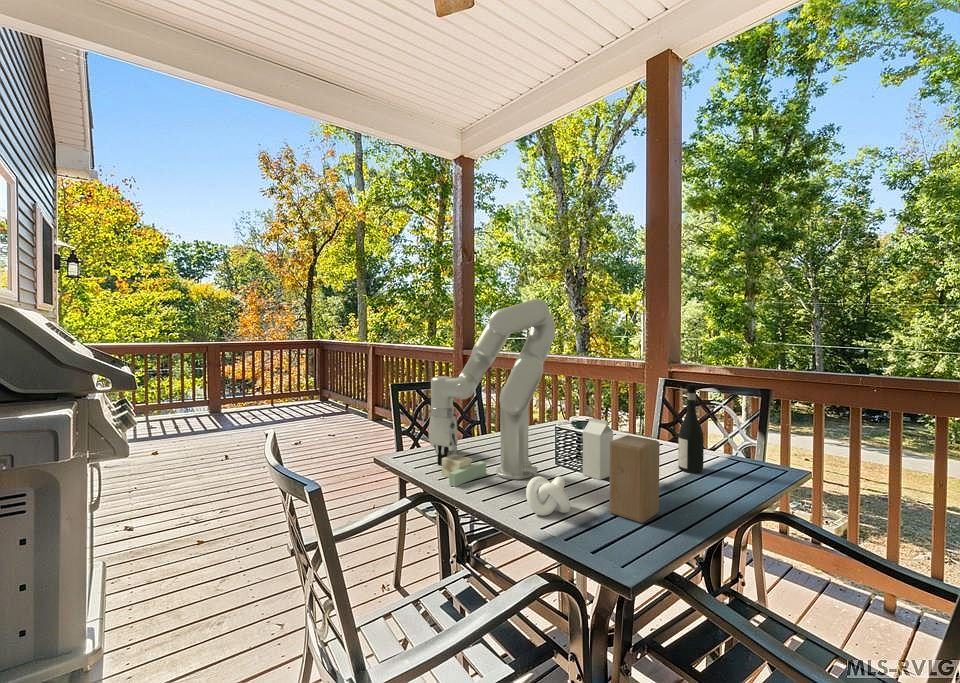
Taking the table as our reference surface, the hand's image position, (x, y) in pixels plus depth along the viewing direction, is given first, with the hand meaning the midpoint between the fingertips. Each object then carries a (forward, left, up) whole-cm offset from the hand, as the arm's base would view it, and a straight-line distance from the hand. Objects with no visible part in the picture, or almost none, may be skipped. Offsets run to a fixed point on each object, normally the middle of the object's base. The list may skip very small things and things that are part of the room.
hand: (442, 464), depth 159 cm
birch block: (-6, 0, -3) cm, 7 cm away
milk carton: (-43, -30, -3) cm, 53 cm away
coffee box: (+16, -18, -3) cm, 24 cm away
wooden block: (-64, -7, -3) cm, 65 cm away
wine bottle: (-66, -55, -3) cm, 86 cm away
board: (-12, 0, -3) cm, 12 cm away
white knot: (-45, +5, -3) cm, 46 cm away
